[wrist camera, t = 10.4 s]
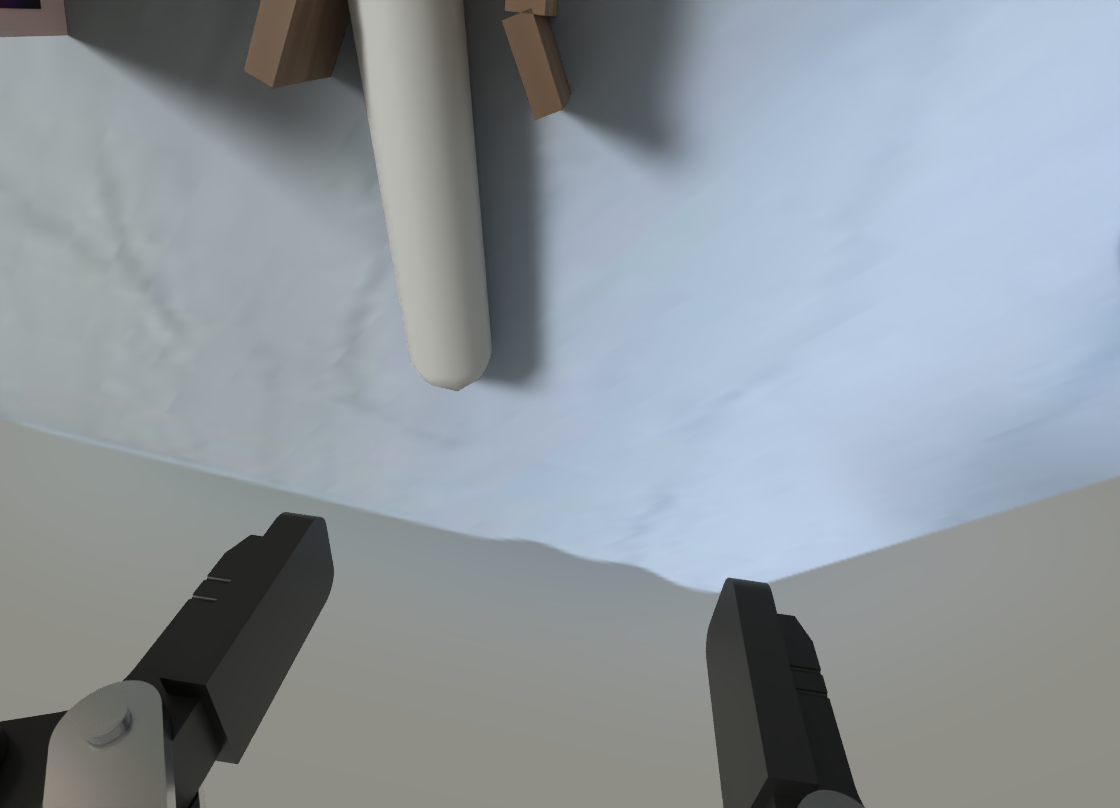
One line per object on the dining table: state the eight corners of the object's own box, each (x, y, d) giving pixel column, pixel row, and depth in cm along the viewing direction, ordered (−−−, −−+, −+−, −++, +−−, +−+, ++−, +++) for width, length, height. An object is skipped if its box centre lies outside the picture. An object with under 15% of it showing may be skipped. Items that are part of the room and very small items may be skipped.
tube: (505, 398, 34) (462, -204, 20) (412, 412, 33) (299, -214, 19) (491, 355, 39) (447, -166, 25) (408, 366, 38) (314, -172, 24)
